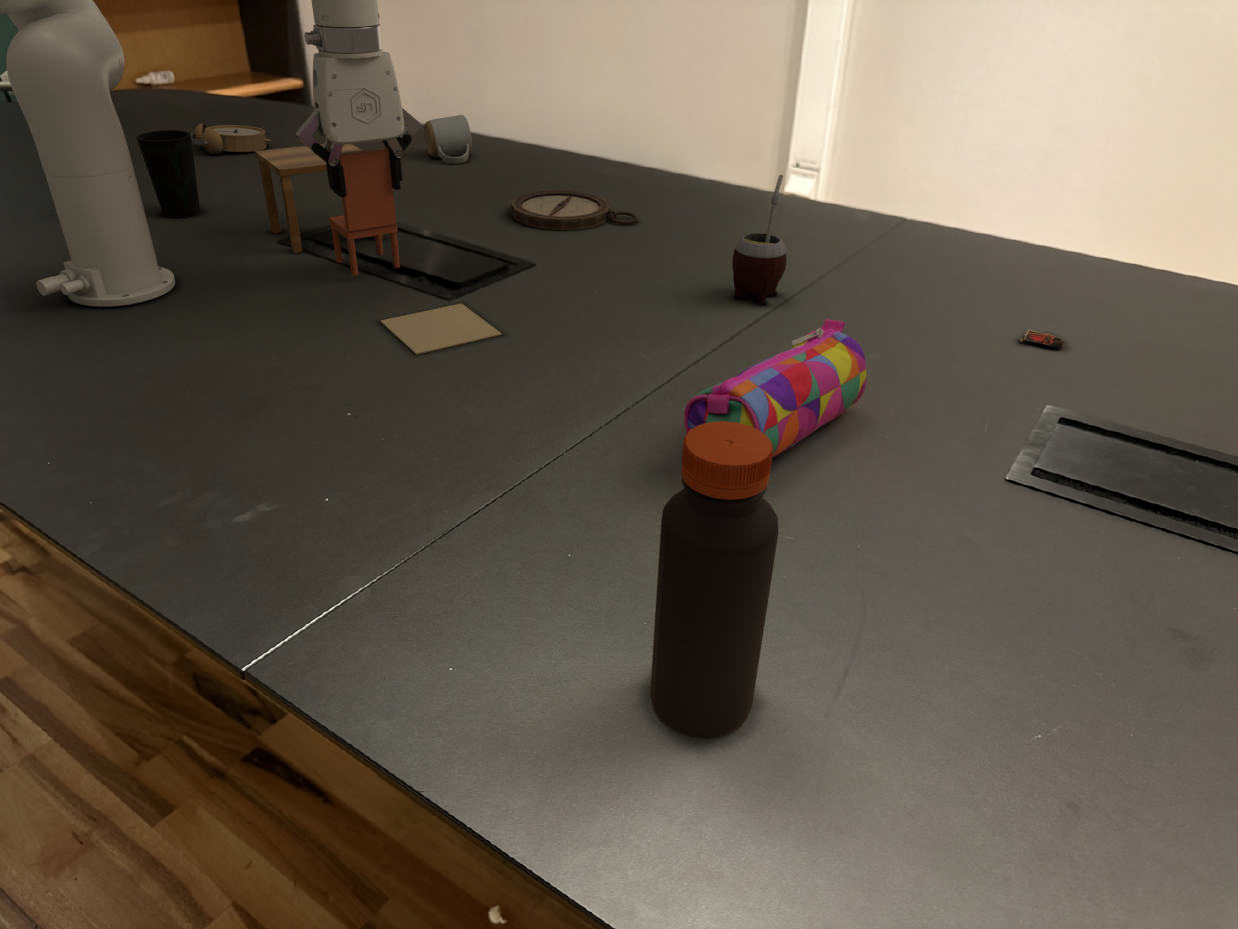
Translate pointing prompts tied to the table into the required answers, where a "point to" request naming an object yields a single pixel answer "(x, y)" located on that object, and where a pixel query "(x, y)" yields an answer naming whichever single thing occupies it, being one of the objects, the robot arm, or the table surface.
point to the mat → (439, 328)
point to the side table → (289, 182)
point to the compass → (564, 210)
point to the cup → (171, 171)
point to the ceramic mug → (448, 138)
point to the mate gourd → (759, 261)
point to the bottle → (713, 581)
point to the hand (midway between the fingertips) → (367, 189)
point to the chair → (366, 203)
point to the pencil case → (789, 389)
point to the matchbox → (1043, 338)
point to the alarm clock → (229, 138)
